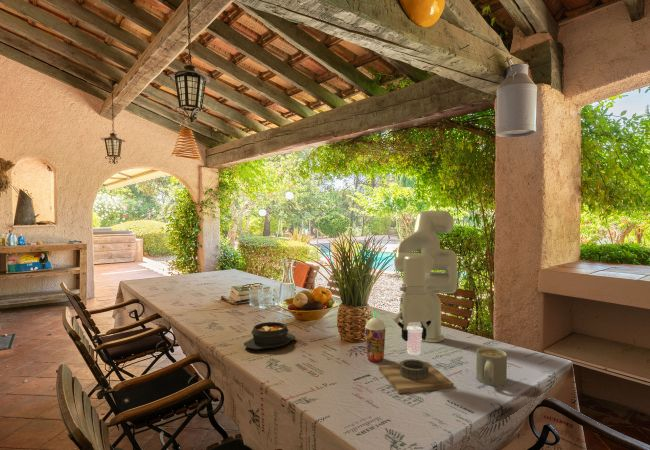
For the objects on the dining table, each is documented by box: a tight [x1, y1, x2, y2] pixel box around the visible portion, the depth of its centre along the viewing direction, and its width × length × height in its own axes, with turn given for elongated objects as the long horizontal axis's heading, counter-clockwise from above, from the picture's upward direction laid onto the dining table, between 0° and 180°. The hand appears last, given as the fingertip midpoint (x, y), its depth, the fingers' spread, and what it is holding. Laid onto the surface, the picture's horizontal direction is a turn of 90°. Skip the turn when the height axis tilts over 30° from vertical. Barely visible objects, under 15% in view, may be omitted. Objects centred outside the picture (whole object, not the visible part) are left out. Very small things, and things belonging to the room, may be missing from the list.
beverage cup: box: [406, 323, 423, 356], centre depth 143 cm, size 6×6×14 cm
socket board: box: [378, 358, 454, 394], centre depth 144 cm, size 20×20×5 cm
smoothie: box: [364, 310, 387, 363], centre depth 161 cm, size 8×8×20 cm
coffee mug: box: [475, 347, 508, 387], centre depth 141 cm, size 13×10×10 cm
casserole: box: [243, 321, 296, 350], centre depth 181 cm, size 25×19×8 cm
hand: (414, 338), depth 143 cm, fingers closed on beverage cup, 6 cm apart
